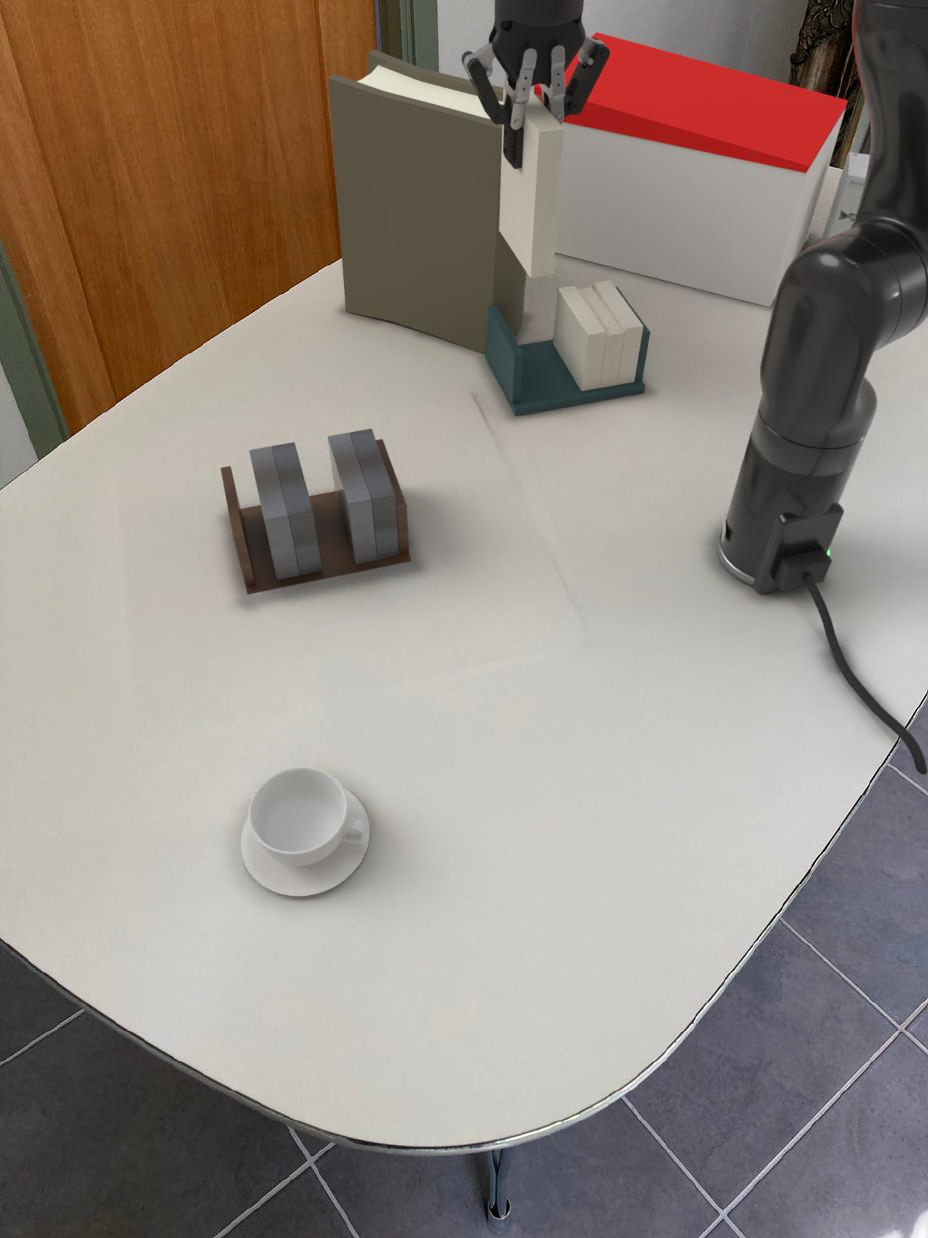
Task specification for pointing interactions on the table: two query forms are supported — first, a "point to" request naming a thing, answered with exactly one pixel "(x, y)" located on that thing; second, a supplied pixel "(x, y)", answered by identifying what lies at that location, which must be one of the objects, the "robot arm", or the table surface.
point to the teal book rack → (572, 352)
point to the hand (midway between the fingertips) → (530, 162)
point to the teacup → (303, 832)
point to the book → (422, 202)
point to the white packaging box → (847, 195)
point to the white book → (533, 191)
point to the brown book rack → (319, 515)
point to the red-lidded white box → (693, 171)
